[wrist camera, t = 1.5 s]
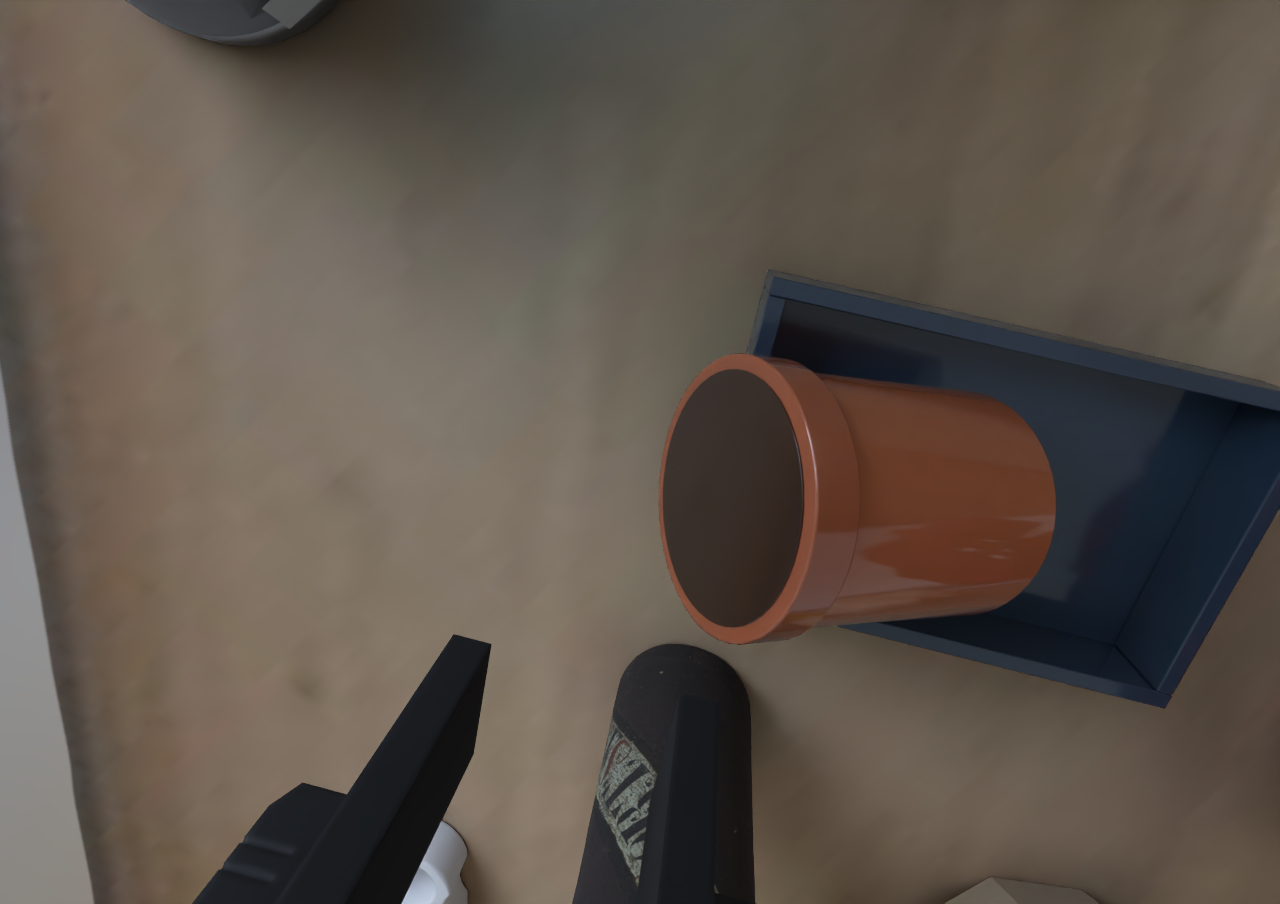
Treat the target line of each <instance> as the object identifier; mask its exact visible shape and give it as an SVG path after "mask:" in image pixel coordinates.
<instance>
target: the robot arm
mask: <svg viewBox="0 0 1280 904" xmlns="http://www.w3.org/2000/svg"><path fill="white" fill-rule="evenodd" d="M125 1H127V2H128V3H130V4H131V5H133V6H134V7H136V8H137V9H139V10H140V11H142V12H143V13H145V14H147V15H148V16H150V17H151V18H153V19H155V20H157V21H159V22H161V23H163V24H165V25H167V26H170V27H172V28H175V29H177V30H180V31H182V32H185V33H188V34H191V35H194V36H197V37H200V38H203V39H207V40H210V41H214V42H218V43H223V44H229V45H240V46H252V45H264V44H268V43H273V42H278V41H281V40H284V39H287V38H290V37H292V36H294V35H296V34H298V33H300V32H302V31H304V30H306V29H307V28H309V27H310V26H312V25H314V24H315V23H317V22H318V21H319V20H320V19H321V18H323V17H324V16H325V15H326V14H327V13H329V11H330V10H331V9H332V8H333V7H334V6H335V5H336V4H337V3H338V2H339V1H340V0H125ZM490 649H491V644H489V643H485V642H481V641H478V640H474V639H470V638H466V637H462V636H458V635H453V636H452V638H451V639H450V641H449V642H448V644H447V645H446V647H445V648H444V650H443V651H442V653H441V654H440V656H439V657H438V659H437V660H436V662H435V663H434V665H433V666H432V668H431V669H430V671H429V672H428V674H427V675H426V677H425V678H424V680H423V681H422V683H421V684H420V686H419V687H418V689H417V690H416V692H415V693H414V695H413V696H412V698H411V699H410V701H409V702H408V704H407V705H406V707H405V708H404V710H403V711H402V713H401V714H400V716H399V717H398V719H397V720H396V722H395V723H394V725H393V726H392V728H391V729H390V731H389V732H388V734H387V735H386V737H385V738H384V740H383V741H382V743H381V744H380V746H379V747H378V749H377V750H376V752H375V753H374V755H373V756H372V758H371V759H370V761H369V762H368V764H367V765H366V767H365V768H364V770H363V771H362V773H361V774H360V776H359V777H358V779H357V780H356V782H355V783H354V785H353V786H352V788H351V789H350V791H349V792H348V794H347V795H346V794H343V793H339V792H335V791H332V790H328V789H324V788H321V787H317V786H313V785H310V784H306V783H301V784H300V785H298V786H297V787H296V788H294V789H293V790H291V791H290V792H288V793H287V794H285V795H284V796H282V797H281V798H280V799H278V800H277V801H275V802H274V803H272V804H271V805H269V806H268V808H267V809H266V810H265V812H264V813H263V814H262V815H261V817H260V818H259V819H258V820H257V822H256V823H255V824H254V826H253V827H252V828H251V829H250V831H249V832H248V833H247V834H246V836H245V838H244V841H243V842H242V843H239V845H238V846H237V847H236V848H235V850H234V851H233V852H232V854H231V855H230V856H229V857H228V859H227V860H226V861H225V862H224V866H223V868H222V869H221V870H218V871H217V873H216V874H215V875H214V876H213V878H212V879H211V880H210V882H209V883H208V884H207V885H206V887H205V888H204V889H203V890H202V892H201V893H200V894H199V896H198V897H197V898H196V899H195V901H194V902H193V903H192V904H402V902H403V900H404V898H405V896H406V893H407V891H408V889H409V887H410V885H411V883H412V881H413V879H414V877H415V875H416V873H417V871H418V868H419V866H420V864H421V862H422V860H423V858H424V856H425V854H426V852H427V850H428V848H429V846H430V844H431V841H432V839H433V837H434V835H435V833H436V831H437V829H438V827H439V825H440V823H441V821H442V819H443V816H444V814H445V812H446V810H447V808H448V806H449V804H450V802H451V800H452V798H453V796H454V794H455V792H456V789H457V787H458V785H459V783H460V781H461V779H462V777H463V775H464V773H465V771H466V769H467V767H468V764H469V762H470V760H471V758H472V756H473V754H474V748H475V742H476V736H477V730H478V724H479V717H480V711H481V705H482V699H483V693H484V687H485V680H486V674H487V668H488V662H489V656H490ZM718 729H719V703H718V702H714V701H710V700H706V699H702V698H698V697H695V696H691V695H687V694H683V693H680V695H679V699H678V702H677V706H676V710H675V713H674V717H673V720H672V724H671V727H670V731H669V735H668V738H667V742H666V745H665V749H664V752H663V756H662V760H661V763H660V767H659V770H658V774H657V777H656V781H655V785H654V788H653V792H652V795H651V799H650V804H649V811H648V818H647V826H646V833H645V840H644V847H643V854H642V861H641V868H640V876H639V883H638V890H637V897H636V904H755V903H751V902H748V901H744V900H740V899H737V898H733V897H729V896H726V895H722V894H718V893H715V892H714V882H715V843H716V805H717V767H718Z"/></svg>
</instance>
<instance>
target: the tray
mask: <svg viewBox="0 0 1280 904" xmlns="http://www.w3.org/2000/svg"><path fill="white" fill-rule="evenodd" d="M746 354H754V355H762V356H769V357H777V358H784V359H789V360H792V361H795V362H797V363H800V364H801V365H803V366H805V367H806V368H808V369H809V370H811V371H812V372H814V373H822V374H831V375H839V376H848V377H856V378H865V379H873V380H882V381H890V382H899V383H907V384H916V385H924V386H933V387H941V388H950V389H958V390H966V391H973V392H979V393H982V394H985V395H988V396H991V397H993V398H995V399H997V400H999V401H1001V402H1003V403H1004V404H1005V405H1007V406H1008V407H1010V408H1011V409H1012V410H1014V411H1015V412H1016V413H1017V414H1018V415H1019V416H1020V417H1021V418H1022V419H1023V420H1024V421H1025V422H1026V423H1027V424H1028V426H1029V427H1030V428H1031V429H1032V431H1033V432H1034V433H1035V435H1036V437H1037V438H1038V440H1039V442H1040V443H1041V445H1042V447H1043V449H1044V451H1045V454H1046V456H1047V458H1048V461H1049V464H1050V468H1051V471H1052V475H1053V479H1054V486H1055V492H1056V517H1055V527H1054V532H1053V536H1052V540H1051V544H1050V547H1049V549H1048V552H1047V555H1046V557H1045V560H1044V561H1043V563H1042V565H1041V567H1040V569H1039V570H1038V572H1037V574H1036V575H1035V576H1034V578H1033V579H1032V580H1031V582H1030V583H1029V584H1028V585H1027V586H1026V587H1025V588H1024V589H1023V590H1022V591H1021V592H1020V593H1019V594H1018V595H1017V596H1016V597H1014V598H1013V599H1012V600H1010V601H1009V602H1007V603H1006V604H1004V605H1002V606H1000V607H998V608H996V609H994V610H991V611H988V612H984V613H981V614H974V615H965V616H952V617H939V618H926V619H914V620H901V621H888V622H875V623H862V624H850V625H837V627H841V628H845V629H849V630H853V631H857V632H861V633H865V634H869V635H873V636H877V637H881V638H885V639H889V640H893V641H897V642H901V643H905V644H909V645H913V646H917V647H921V648H925V649H929V650H933V651H937V652H941V653H945V654H949V655H953V656H957V657H961V658H965V659H969V660H973V661H977V662H981V663H985V664H989V665H993V666H997V667H1001V668H1005V669H1009V670H1013V671H1017V672H1021V673H1025V674H1029V675H1033V676H1037V677H1041V678H1045V679H1049V680H1053V681H1057V682H1061V683H1065V684H1069V685H1073V686H1077V687H1081V688H1085V689H1089V690H1093V691H1097V692H1101V693H1105V694H1109V695H1113V696H1117V697H1121V698H1125V699H1129V700H1133V701H1137V702H1141V703H1145V704H1148V705H1152V706H1156V707H1160V708H1165V707H1166V706H1167V704H1168V702H1169V701H1170V699H1171V697H1172V694H1173V693H1174V691H1175V689H1176V688H1177V686H1178V684H1179V682H1180V681H1181V679H1182V677H1183V675H1184V674H1185V672H1186V670H1187V668H1188V667H1189V665H1190V663H1191V661H1192V660H1193V658H1194V656H1195V655H1196V653H1197V651H1198V649H1199V648H1200V646H1201V644H1202V642H1203V641H1204V639H1205V637H1206V635H1207V634H1208V632H1209V630H1210V628H1211V627H1212V625H1213V623H1214V621H1215V620H1216V618H1217V616H1218V615H1219V613H1220V611H1221V609H1222V608H1223V606H1224V604H1225V602H1226V601H1227V599H1228V597H1229V595H1230V594H1231V592H1232V590H1233V588H1234V587H1235V585H1236V583H1237V581H1238V580H1239V578H1240V576H1241V575H1242V573H1243V571H1244V569H1245V568H1246V566H1247V564H1248V562H1249V561H1250V559H1251V557H1252V555H1253V554H1254V552H1255V550H1256V548H1257V547H1258V545H1259V543H1260V541H1261V540H1262V538H1263V536H1264V534H1265V533H1266V531H1267V529H1268V528H1269V526H1270V524H1271V522H1272V521H1273V519H1274V517H1275V515H1276V514H1277V512H1278V510H1279V508H1280V386H1277V385H1273V384H1270V383H1267V382H1264V381H1260V380H1256V379H1252V378H1248V377H1243V376H1239V375H1234V374H1230V373H1225V372H1221V371H1217V370H1212V369H1208V368H1203V367H1199V366H1195V365H1190V364H1186V363H1181V362H1177V361H1172V360H1168V359H1164V358H1159V357H1155V356H1150V355H1146V354H1142V353H1137V352H1133V351H1128V350H1124V349H1120V348H1115V347H1111V346H1106V345H1102V344H1097V343H1093V342H1089V341H1084V340H1080V339H1075V338H1071V337H1067V336H1062V335H1058V334H1053V333H1049V332H1045V331H1040V330H1036V329H1031V328H1027V327H1022V326H1018V325H1014V324H1009V323H1005V322H1000V321H996V320H992V319H987V318H983V317H978V316H974V315H969V314H965V313H961V312H956V311H952V310H947V309H943V308H939V307H934V306H930V305H925V304H921V303H917V302H912V301H908V300H903V299H899V298H894V297H890V296H886V295H881V294H877V293H872V292H868V291H864V290H859V289H855V288H850V287H846V286H842V285H837V284H833V283H828V282H824V281H819V280H815V279H811V278H806V277H802V276H797V275H793V274H789V273H784V272H780V271H775V270H771V269H769V270H768V272H767V275H766V279H765V283H764V287H763V291H762V294H761V298H760V302H759V306H758V309H757V313H756V317H755V321H754V324H753V328H752V332H751V336H750V340H749V343H748V347H747V351H746Z"/></svg>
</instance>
